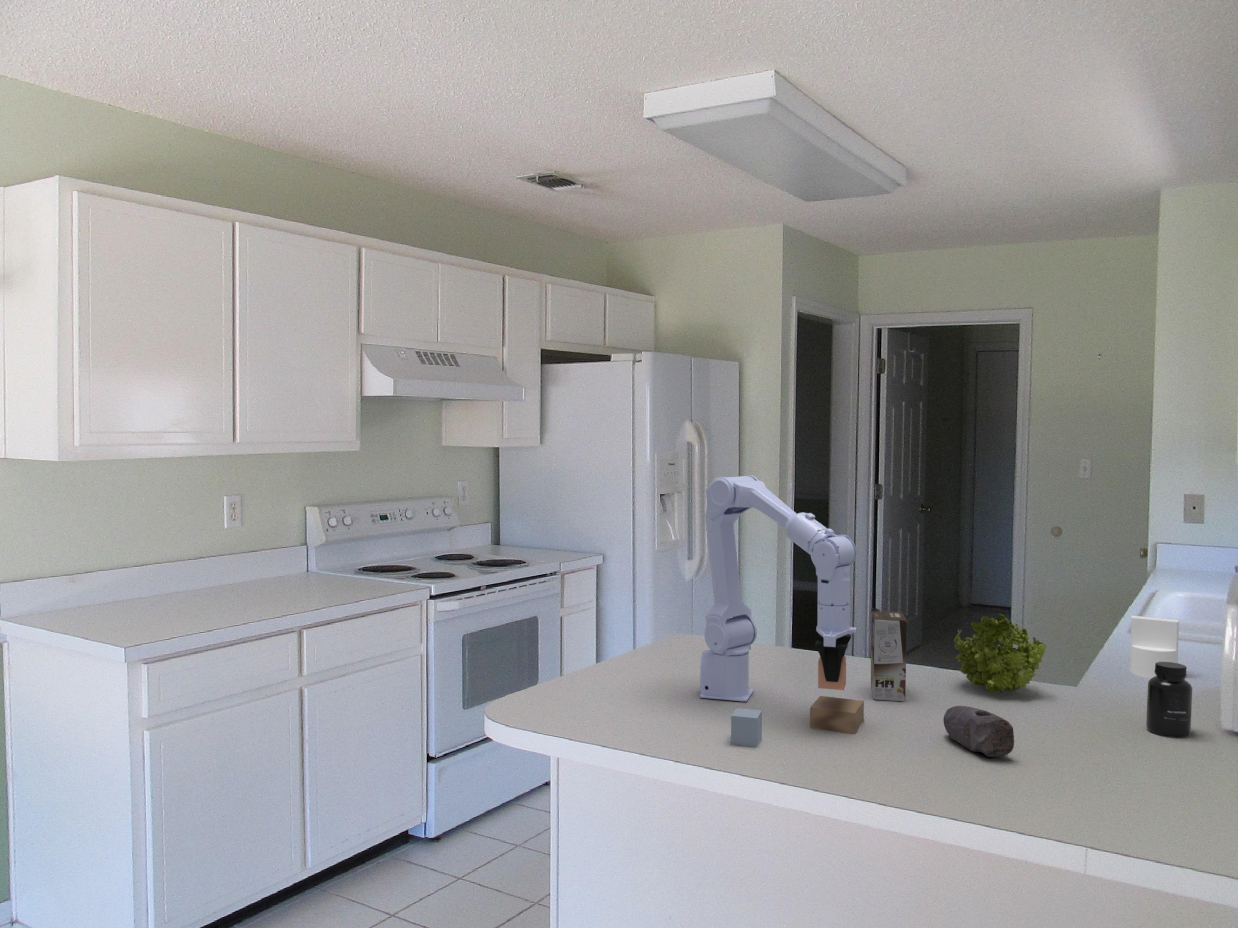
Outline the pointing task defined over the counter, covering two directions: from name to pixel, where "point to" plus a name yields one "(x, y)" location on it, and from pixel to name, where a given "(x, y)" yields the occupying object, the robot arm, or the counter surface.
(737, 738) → the slate-grey block
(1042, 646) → the lettuce head
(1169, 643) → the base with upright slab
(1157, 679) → the supplement bottle
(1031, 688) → the counter surface
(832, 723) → the walnut block
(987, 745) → the perforated stone tool
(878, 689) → the coffee box
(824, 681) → the terracotta block
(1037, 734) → the counter surface
